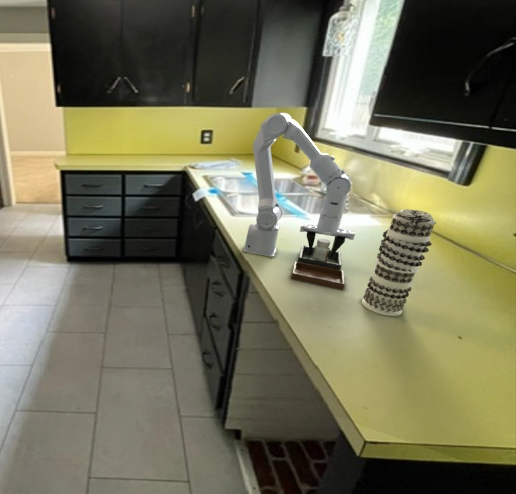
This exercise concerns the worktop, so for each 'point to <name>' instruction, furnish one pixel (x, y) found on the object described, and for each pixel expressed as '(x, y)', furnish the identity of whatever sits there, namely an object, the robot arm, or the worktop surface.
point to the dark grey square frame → (317, 262)
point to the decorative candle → (398, 261)
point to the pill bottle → (321, 250)
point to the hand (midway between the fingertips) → (319, 256)
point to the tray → (318, 275)
